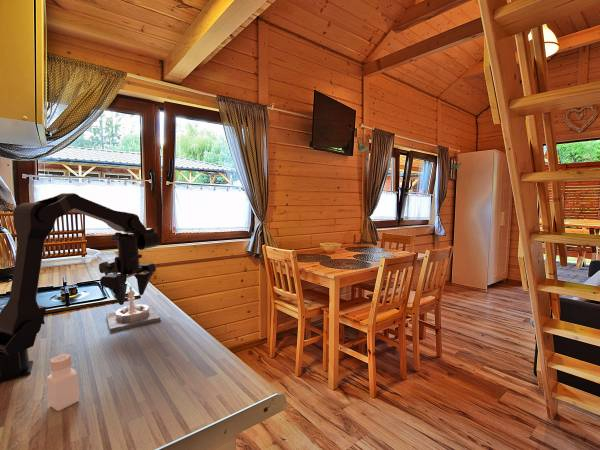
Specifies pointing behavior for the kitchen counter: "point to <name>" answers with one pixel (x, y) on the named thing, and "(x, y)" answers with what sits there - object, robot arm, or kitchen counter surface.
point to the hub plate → (131, 317)
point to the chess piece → (131, 302)
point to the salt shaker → (62, 383)
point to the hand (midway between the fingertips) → (131, 299)
